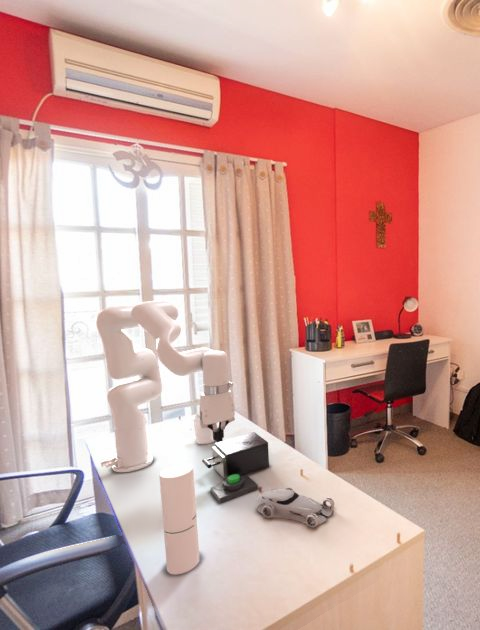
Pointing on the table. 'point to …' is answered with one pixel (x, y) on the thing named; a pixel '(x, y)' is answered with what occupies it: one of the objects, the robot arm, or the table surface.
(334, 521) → the table surface
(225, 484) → the control block
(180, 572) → the cylindrical container
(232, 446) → the cabinet
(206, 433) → the mug
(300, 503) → the car model
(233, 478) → the button
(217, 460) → the drawer
